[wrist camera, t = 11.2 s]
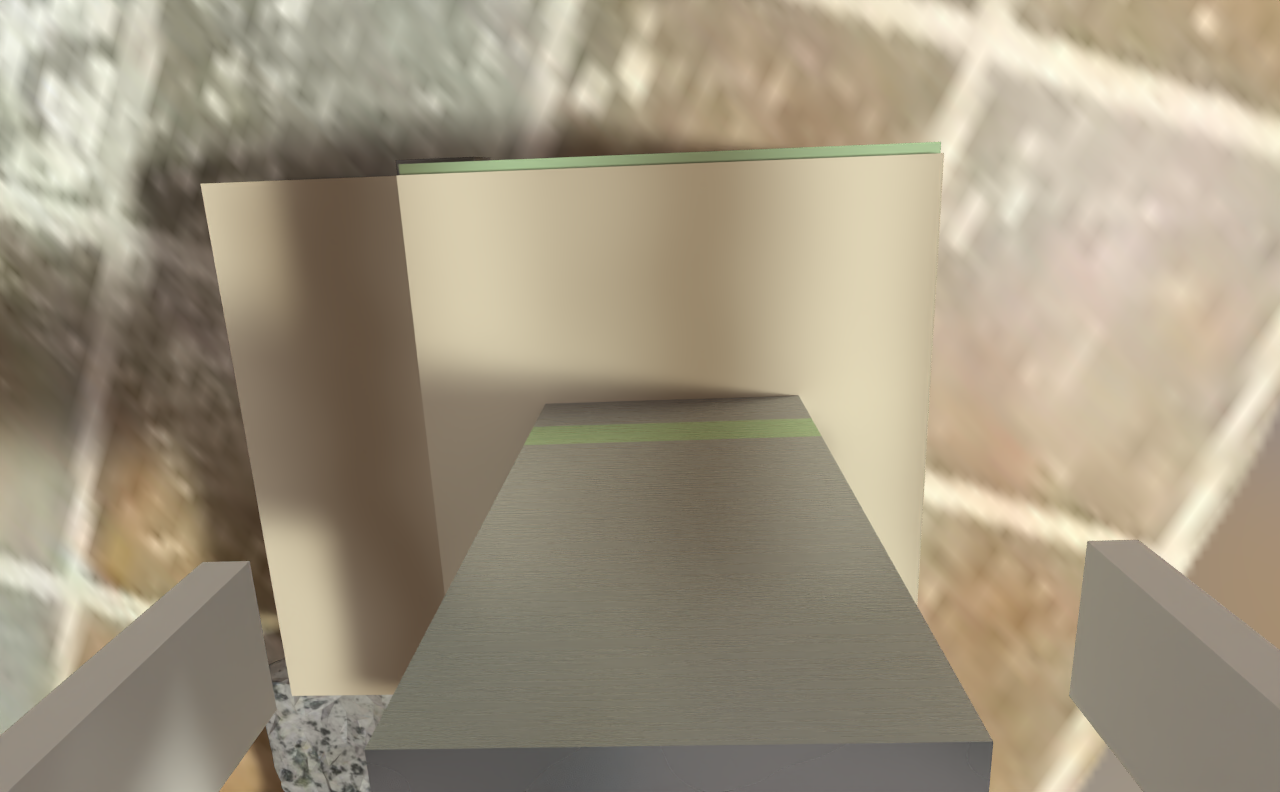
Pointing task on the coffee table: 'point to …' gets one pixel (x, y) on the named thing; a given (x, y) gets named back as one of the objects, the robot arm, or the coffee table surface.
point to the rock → (321, 737)
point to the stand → (550, 348)
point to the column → (678, 624)
